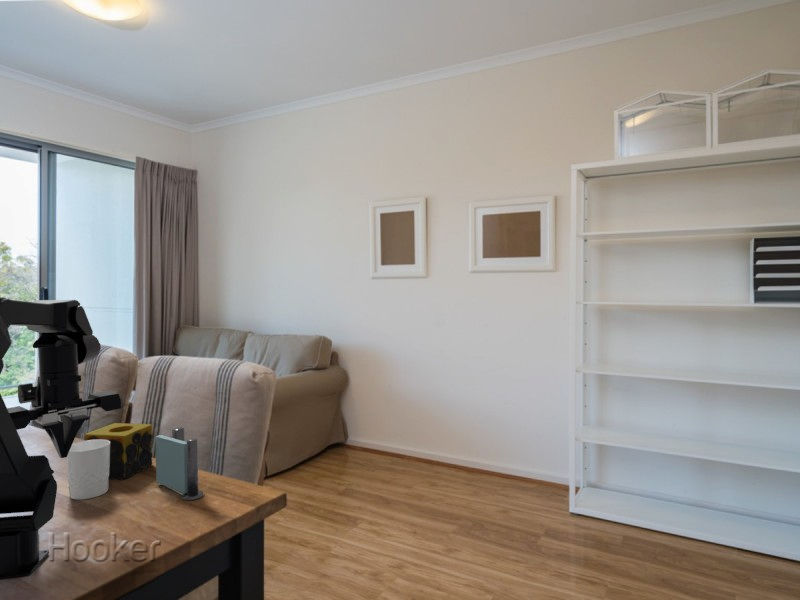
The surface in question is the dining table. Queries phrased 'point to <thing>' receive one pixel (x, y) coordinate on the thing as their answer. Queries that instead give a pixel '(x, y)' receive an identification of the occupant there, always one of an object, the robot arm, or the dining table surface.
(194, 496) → the hinge post
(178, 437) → the post
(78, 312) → the robot arm
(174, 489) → the strip
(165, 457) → the gate
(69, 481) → the white cup
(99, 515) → the dining table surface
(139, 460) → the holed cube box
